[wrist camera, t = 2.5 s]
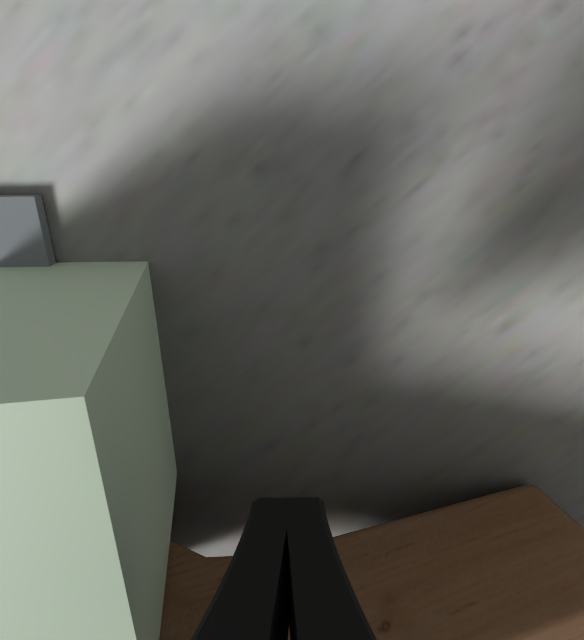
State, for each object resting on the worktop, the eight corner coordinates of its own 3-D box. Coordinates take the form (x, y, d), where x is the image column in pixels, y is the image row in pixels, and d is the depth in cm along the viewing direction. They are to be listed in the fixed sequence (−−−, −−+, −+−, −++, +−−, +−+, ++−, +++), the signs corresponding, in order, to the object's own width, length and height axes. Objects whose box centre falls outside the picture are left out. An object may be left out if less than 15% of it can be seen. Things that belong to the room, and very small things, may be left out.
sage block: (150, 257, 15) (84, 396, 7) (177, 466, 18) (152, 709, 10) (-8, 265, 14) (-252, 425, 7) (50, 480, 17) (-73, 748, 10)
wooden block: (2, 504, 16) (456, 410, 21) (31, 597, 18) (444, 489, 23) (-116, 877, 8) (654, 584, 13) (-43, 976, 10) (612, 684, 15)
